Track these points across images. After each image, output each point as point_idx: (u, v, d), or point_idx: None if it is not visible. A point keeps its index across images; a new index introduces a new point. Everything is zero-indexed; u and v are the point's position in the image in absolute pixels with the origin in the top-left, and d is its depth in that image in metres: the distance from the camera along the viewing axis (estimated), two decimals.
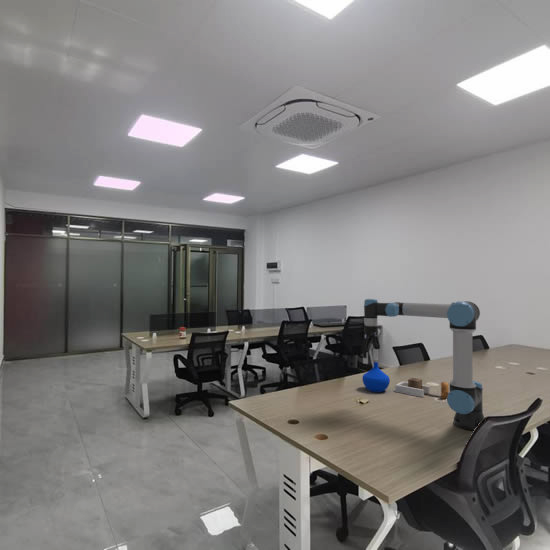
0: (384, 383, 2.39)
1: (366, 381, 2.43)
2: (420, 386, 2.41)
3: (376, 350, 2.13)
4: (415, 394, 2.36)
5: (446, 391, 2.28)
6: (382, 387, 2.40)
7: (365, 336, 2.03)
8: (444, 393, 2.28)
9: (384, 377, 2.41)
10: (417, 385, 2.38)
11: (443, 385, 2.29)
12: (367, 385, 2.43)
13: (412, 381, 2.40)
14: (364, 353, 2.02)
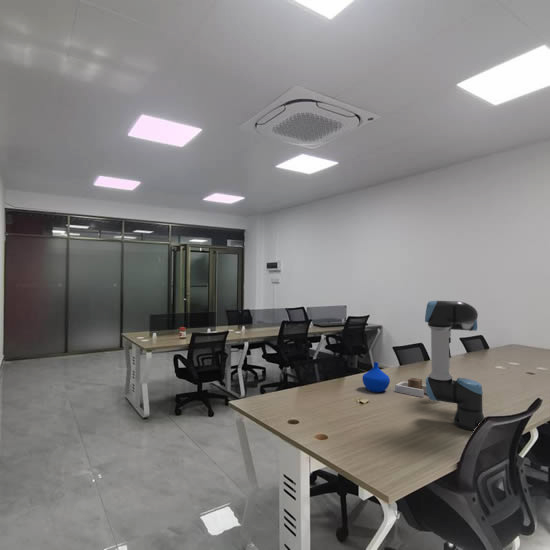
0: (384, 383, 2.39)
1: (366, 381, 2.43)
2: (420, 386, 2.41)
3: None
4: (415, 394, 2.36)
5: None
6: (382, 387, 2.40)
7: None
8: None
9: (384, 377, 2.41)
10: (417, 385, 2.38)
11: None
12: (367, 385, 2.43)
13: (412, 381, 2.40)
14: None
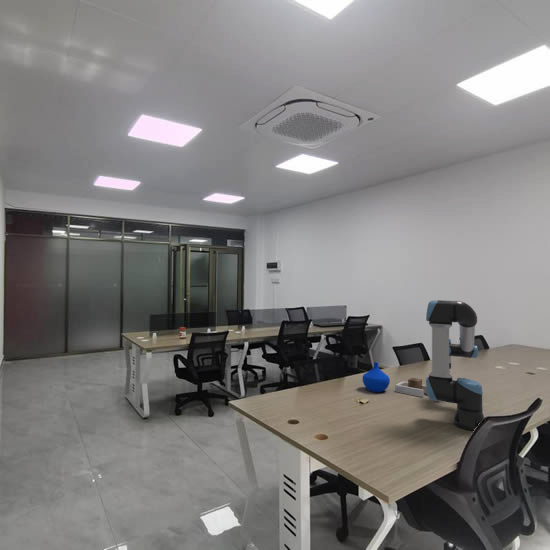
0: (384, 383, 2.39)
1: (366, 381, 2.43)
2: (420, 386, 2.41)
3: None
4: (415, 394, 2.36)
5: None
6: (382, 387, 2.40)
7: None
8: None
9: (384, 377, 2.41)
10: (417, 385, 2.38)
11: None
12: (367, 385, 2.43)
13: (412, 381, 2.40)
14: None
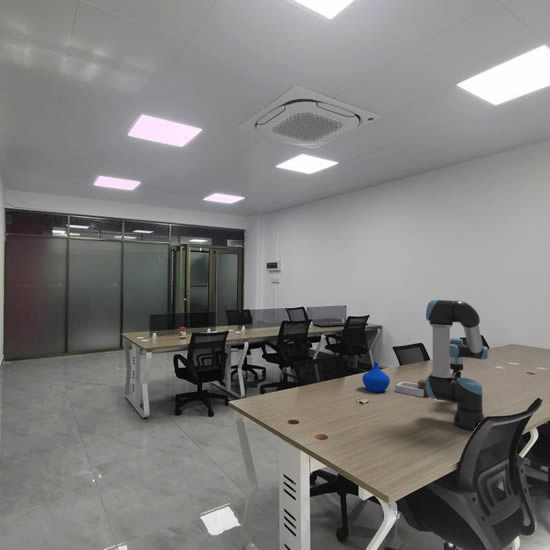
0: (384, 383, 2.39)
1: (366, 381, 2.43)
2: None
3: None
4: (415, 394, 2.36)
5: None
6: (382, 387, 2.40)
7: (454, 377, 2.21)
8: None
9: (384, 377, 2.41)
10: None
11: None
12: (367, 385, 2.43)
13: (422, 383, 2.35)
14: None
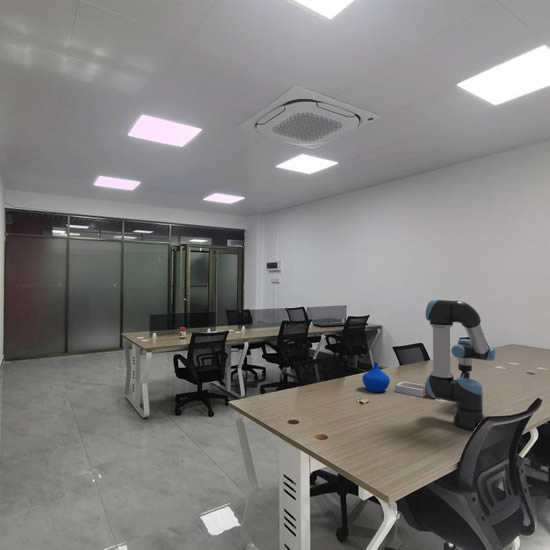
0: (384, 383, 2.39)
1: (366, 381, 2.43)
2: None
3: None
4: (415, 394, 2.36)
5: None
6: (382, 387, 2.40)
7: (462, 378, 2.18)
8: None
9: (384, 377, 2.41)
10: None
11: None
12: (367, 385, 2.43)
13: None
14: None
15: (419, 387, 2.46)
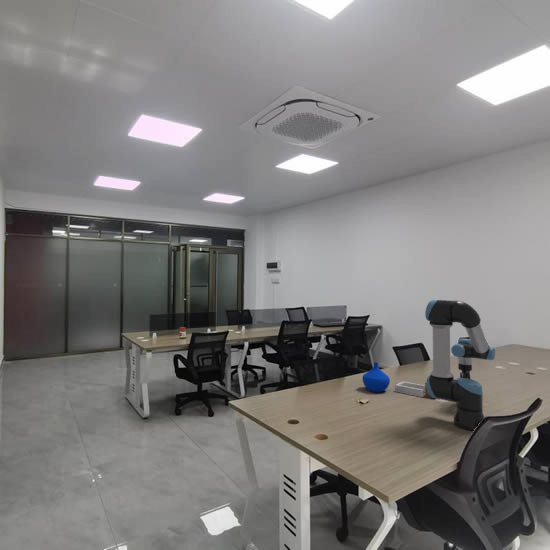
0: (384, 383, 2.39)
1: (366, 381, 2.43)
2: None
3: None
4: (415, 394, 2.36)
5: None
6: (382, 387, 2.40)
7: (462, 374, 2.18)
8: None
9: (384, 377, 2.41)
10: None
11: None
12: (367, 385, 2.43)
13: None
14: None
15: (419, 387, 2.46)
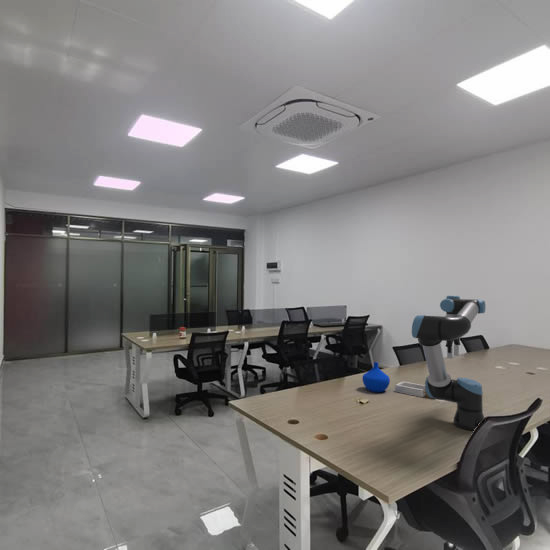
0: (384, 383, 2.39)
1: (366, 381, 2.43)
2: None
3: (457, 346, 2.17)
4: (415, 394, 2.36)
5: None
6: (382, 387, 2.40)
7: None
8: None
9: (384, 377, 2.41)
10: None
11: None
12: (367, 385, 2.43)
13: None
14: (449, 348, 2.06)
15: (419, 387, 2.46)
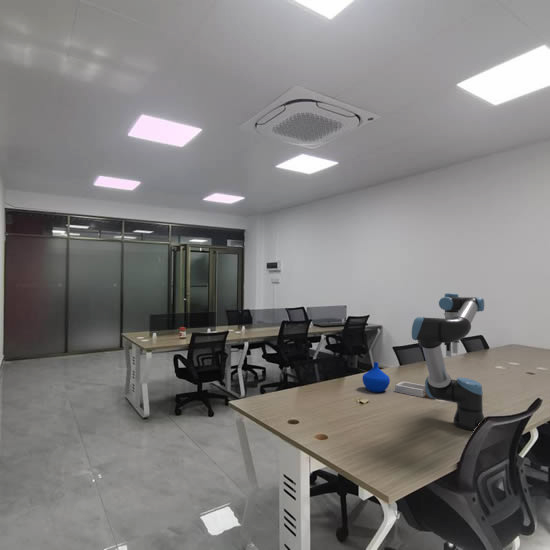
0: (384, 383, 2.39)
1: (366, 381, 2.43)
2: None
3: (455, 344, 2.16)
4: (415, 394, 2.36)
5: None
6: (382, 387, 2.40)
7: None
8: None
9: (384, 377, 2.41)
10: None
11: None
12: (367, 385, 2.43)
13: None
14: (448, 346, 2.06)
15: (419, 387, 2.46)
